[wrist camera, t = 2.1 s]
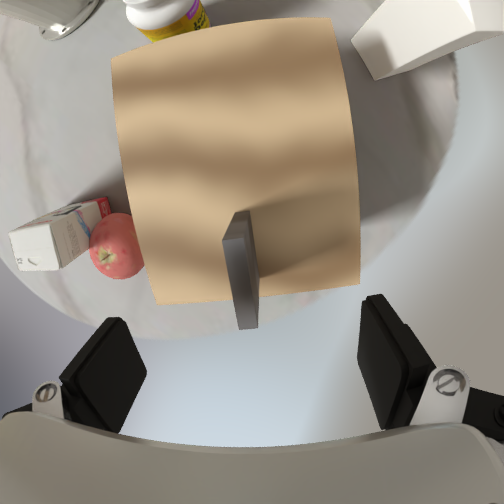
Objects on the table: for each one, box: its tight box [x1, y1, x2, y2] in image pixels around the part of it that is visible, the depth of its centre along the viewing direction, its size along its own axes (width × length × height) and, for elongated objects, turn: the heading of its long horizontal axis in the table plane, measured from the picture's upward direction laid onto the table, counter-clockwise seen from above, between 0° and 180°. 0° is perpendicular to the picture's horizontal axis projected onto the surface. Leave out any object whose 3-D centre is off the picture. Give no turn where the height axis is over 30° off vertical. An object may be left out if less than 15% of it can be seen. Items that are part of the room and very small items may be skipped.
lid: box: [111, 17, 360, 330], centre depth 14 cm, size 20×16×7 cm
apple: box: [89, 213, 145, 279], centre depth 29 cm, size 7×7×8 cm
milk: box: [351, 0, 504, 81], centre depth 13 cm, size 6×6×22 cm
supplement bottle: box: [123, 0, 211, 43], centre depth 18 cm, size 7×7×13 cm
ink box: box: [9, 197, 112, 271], centre depth 27 cm, size 9×5×12 cm, turn 95°
